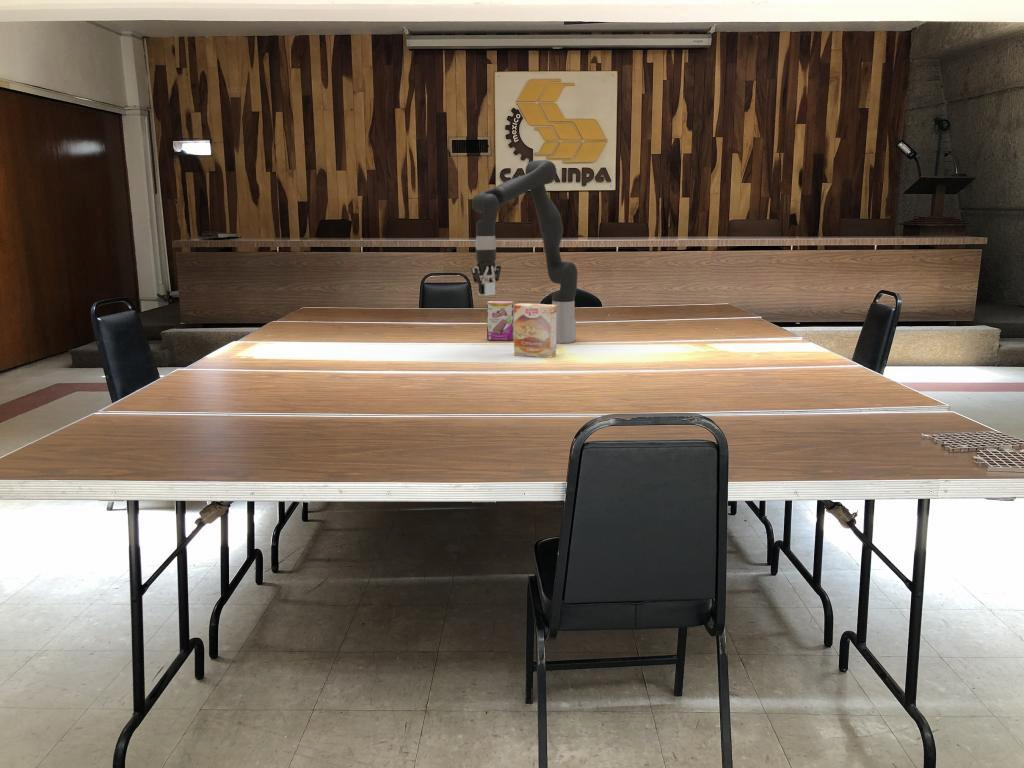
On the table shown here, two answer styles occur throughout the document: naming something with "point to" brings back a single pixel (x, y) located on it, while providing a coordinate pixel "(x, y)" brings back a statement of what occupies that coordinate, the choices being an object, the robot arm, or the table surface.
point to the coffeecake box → (535, 329)
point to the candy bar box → (500, 320)
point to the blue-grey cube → (488, 288)
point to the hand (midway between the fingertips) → (486, 293)
